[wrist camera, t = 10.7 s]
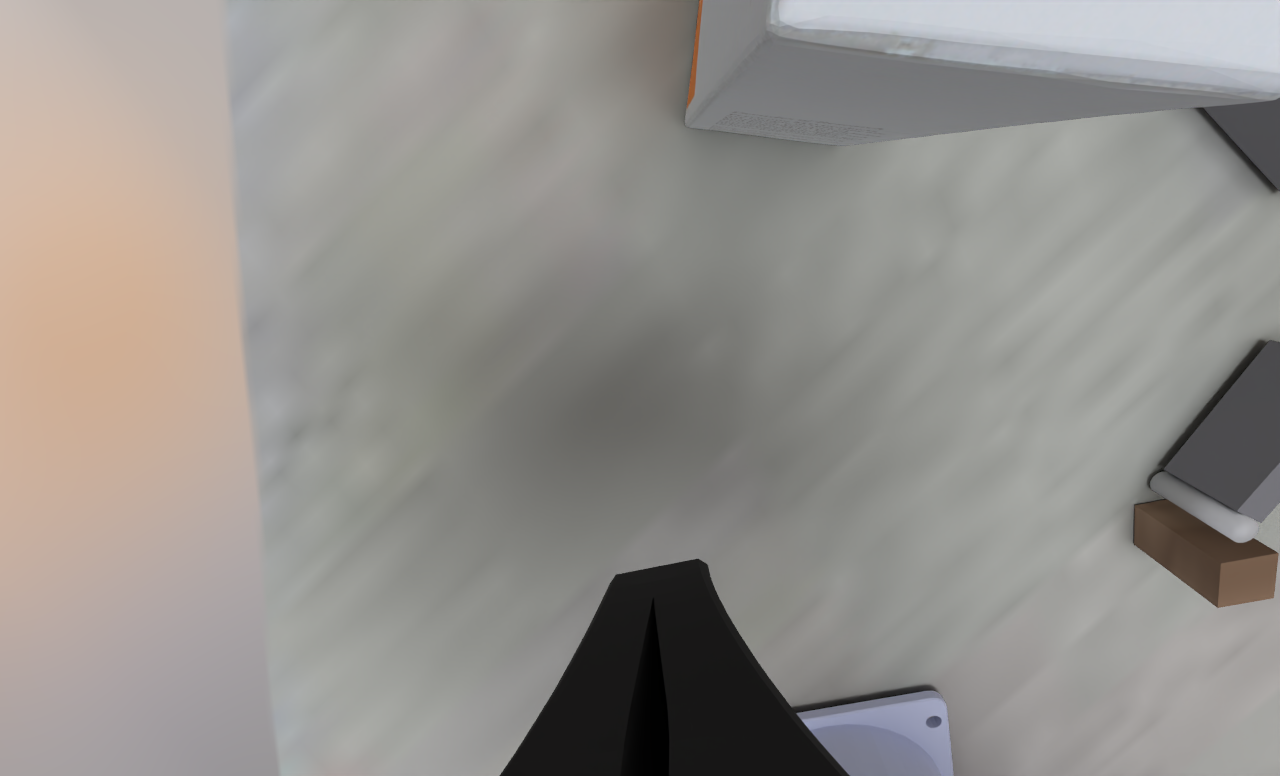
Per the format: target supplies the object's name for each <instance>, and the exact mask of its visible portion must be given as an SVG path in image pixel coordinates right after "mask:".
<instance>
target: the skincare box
mask: <svg viewBox="0 0 1280 776" xmlns="http://www.w3.org/2000/svg"><path fill="white" fill-rule="evenodd" d="M1278 98H1280V0H699V9H698V18H697V27H696V36H695V45H694V54H693V62H692V70H691V78H690V85H689V92H688V100H687V108H686V115H685V125H686V126H687V127H689V128H696V129H705V130H713V131H722V132H730V133H739V134H746V135H754V136H762V137H770V138H777V139H785V140H793V141H802V142H810V143H819V144H827V145H840V146H847V145H856V144H864V143H873V142H882V141H890V140H899V139H906V138H917V137H924V136H932V135H939V134H948V133H957V132H966V131H974V130H982V129H990V128H999V127H1008V126H1017V125H1025V124H1034V123H1044V122H1055V121H1064V120H1072V119H1081V118H1090V117H1099V116H1108V115H1119V114H1132V113H1144V112H1153V111H1162V110H1171V109H1184V108H1197V107H1210V106H1224V105H1235V104H1245V103H1255V102H1265V101H1272V100H1276V99H1278Z"/></svg>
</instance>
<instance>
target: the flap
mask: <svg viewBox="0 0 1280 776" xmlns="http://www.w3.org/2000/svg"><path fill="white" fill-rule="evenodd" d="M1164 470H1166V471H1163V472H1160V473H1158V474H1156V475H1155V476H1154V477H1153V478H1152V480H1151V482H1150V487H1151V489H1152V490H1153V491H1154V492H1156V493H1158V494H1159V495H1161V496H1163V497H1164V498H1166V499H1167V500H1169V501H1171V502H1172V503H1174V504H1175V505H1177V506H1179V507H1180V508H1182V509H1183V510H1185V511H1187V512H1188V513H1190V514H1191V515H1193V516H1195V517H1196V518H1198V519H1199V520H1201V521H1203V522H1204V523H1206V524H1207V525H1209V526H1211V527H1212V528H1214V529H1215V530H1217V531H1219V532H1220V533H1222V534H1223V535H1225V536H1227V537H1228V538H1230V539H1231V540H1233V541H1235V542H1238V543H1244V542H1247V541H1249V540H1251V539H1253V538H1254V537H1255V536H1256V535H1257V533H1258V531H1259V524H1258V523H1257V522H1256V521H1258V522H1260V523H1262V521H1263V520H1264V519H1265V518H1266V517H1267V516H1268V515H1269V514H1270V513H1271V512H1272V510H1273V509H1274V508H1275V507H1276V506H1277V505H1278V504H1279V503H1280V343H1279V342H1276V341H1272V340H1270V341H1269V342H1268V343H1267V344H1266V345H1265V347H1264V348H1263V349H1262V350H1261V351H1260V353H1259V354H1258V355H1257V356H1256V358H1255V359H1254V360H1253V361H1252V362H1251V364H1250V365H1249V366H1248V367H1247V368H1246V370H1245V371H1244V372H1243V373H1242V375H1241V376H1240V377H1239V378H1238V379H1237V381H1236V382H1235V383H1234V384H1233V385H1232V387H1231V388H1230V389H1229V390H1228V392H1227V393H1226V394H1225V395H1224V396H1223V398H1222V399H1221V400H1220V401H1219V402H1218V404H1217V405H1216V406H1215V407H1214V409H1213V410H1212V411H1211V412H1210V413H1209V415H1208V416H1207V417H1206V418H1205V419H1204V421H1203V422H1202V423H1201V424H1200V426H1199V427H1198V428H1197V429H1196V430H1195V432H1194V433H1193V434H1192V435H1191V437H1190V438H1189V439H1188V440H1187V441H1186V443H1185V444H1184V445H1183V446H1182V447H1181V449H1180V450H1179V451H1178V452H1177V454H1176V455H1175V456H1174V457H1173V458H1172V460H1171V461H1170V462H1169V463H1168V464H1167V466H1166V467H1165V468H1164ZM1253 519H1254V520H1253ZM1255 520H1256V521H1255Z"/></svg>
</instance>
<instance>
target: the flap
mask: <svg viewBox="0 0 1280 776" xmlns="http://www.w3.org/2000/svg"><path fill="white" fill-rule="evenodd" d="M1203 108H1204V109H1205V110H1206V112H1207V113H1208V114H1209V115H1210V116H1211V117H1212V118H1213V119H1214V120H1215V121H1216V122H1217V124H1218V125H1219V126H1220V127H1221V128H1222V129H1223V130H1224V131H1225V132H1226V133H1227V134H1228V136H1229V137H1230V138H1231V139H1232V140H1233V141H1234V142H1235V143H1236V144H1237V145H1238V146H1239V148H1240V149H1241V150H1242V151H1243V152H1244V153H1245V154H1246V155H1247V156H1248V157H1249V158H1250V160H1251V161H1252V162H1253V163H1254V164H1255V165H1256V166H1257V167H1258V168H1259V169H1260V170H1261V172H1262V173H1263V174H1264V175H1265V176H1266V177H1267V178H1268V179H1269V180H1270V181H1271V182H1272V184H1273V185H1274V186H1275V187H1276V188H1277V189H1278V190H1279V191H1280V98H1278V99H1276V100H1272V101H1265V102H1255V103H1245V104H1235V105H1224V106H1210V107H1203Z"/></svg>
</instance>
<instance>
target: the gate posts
mask: <svg viewBox="0 0 1280 776" xmlns="http://www.w3.org/2000/svg"><path fill="white" fill-rule="evenodd" d="M1134 545H1136V546H1137V547H1138V548H1140V549H1141V550H1142V551H1144V552H1145V553H1146V554H1148V555H1149V556H1150V557H1151V558H1153V559H1154V560H1155V561H1157V562H1158V563H1159V564H1161V565H1162V566H1163V567H1165V568H1166V569H1167V570H1169V571H1170V572H1171V573H1173V574H1174V575H1175V576H1176V577H1178V578H1179V579H1180V580H1182V581H1183V582H1184V583H1186V584H1187V585H1188V586H1190V587H1191V588H1192V589H1194V590H1195V591H1196V592H1198V593H1199V594H1200V595H1202V596H1203V597H1204V598H1205V599H1207V600H1208V601H1209V602H1211V603H1212V604H1213V605H1215V606H1216V607H1217V608H1219V607H1225V606H1231V605H1236V604H1242V603H1248V602H1254V601H1259V600H1265V599H1271V598H1274V591H1275V581H1276V572H1277V563H1278V553H1277V552H1276V551H1274V550H1272V549H1271V548H1269V547H1267V546H1266V545H1264V544H1262V543H1261V542H1259V541H1257V540H1256V539H1254V538H1253V539H1251V540H1249V541H1247V542H1244V543H1238V542H1235V541H1233V540H1231V539H1230V538H1228V537H1227V536H1225V535H1223V534H1222V533H1220V532H1219V531H1217V530H1215V529H1214V528H1212V527H1211V526H1209V525H1207V524H1206V523H1204V522H1203V521H1201V520H1199V519H1198V518H1196V517H1195V516H1193V515H1191V514H1190V513H1188V512H1187V511H1185V510H1183V509H1182V508H1180V507H1179V506H1177V505H1175V504H1174V503H1172V502H1171V501H1169V500H1167V499H1165V500H1160V501H1155V502H1150V503H1144V504H1139V505H1135V526H1134Z"/></svg>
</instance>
